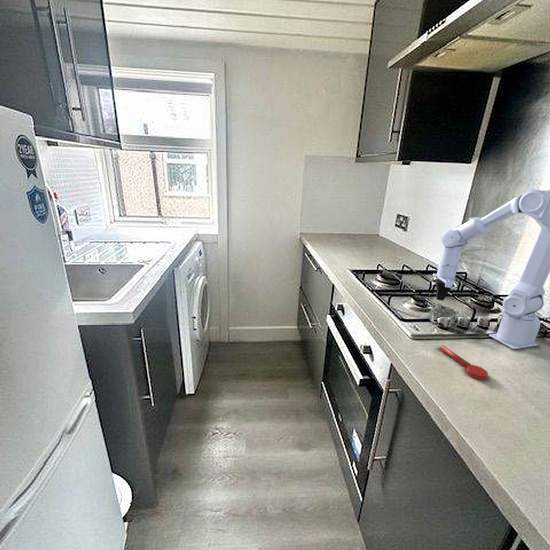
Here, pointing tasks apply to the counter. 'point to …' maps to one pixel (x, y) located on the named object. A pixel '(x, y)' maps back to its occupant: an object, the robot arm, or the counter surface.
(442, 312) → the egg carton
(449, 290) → the robot arm
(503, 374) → the counter surface
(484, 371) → the spoon
